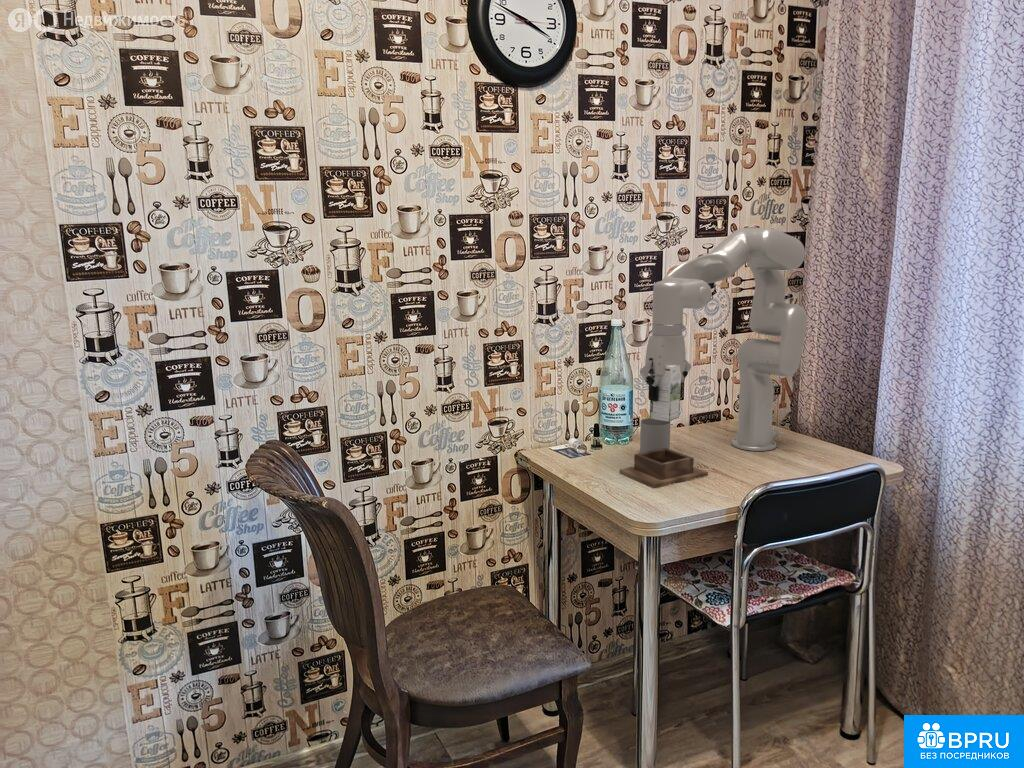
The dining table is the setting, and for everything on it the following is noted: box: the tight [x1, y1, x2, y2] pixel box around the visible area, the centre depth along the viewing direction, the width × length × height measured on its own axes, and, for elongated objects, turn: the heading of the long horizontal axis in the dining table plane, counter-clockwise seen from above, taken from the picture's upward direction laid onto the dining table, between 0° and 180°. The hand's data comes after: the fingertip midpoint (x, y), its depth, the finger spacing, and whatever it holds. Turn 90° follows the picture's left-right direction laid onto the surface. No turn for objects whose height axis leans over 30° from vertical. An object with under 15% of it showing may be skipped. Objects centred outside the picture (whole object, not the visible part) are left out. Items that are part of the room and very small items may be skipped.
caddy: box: [619, 448, 709, 489], centre depth 198 cm, size 18×14×5 cm
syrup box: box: [649, 365, 681, 422], centre depth 193 cm, size 6×6×14 cm
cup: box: [639, 417, 671, 453], centre depth 213 cm, size 8×8×10 cm
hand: (665, 398), depth 194 cm, fingers closed on syrup box, 7 cm apart
